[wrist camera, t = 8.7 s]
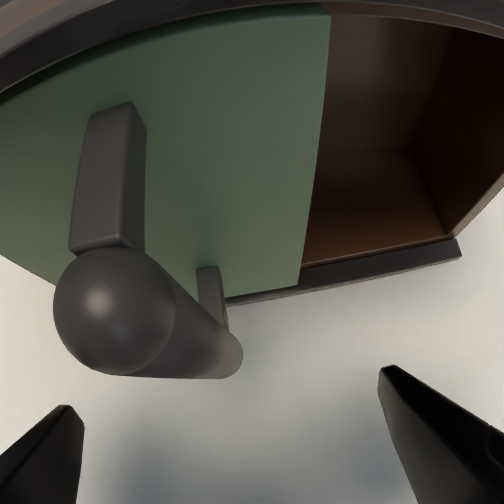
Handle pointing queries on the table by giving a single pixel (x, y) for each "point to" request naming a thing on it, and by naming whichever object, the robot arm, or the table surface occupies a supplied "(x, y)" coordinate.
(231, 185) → the sliding door
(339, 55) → the cupboard
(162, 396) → the table surface
